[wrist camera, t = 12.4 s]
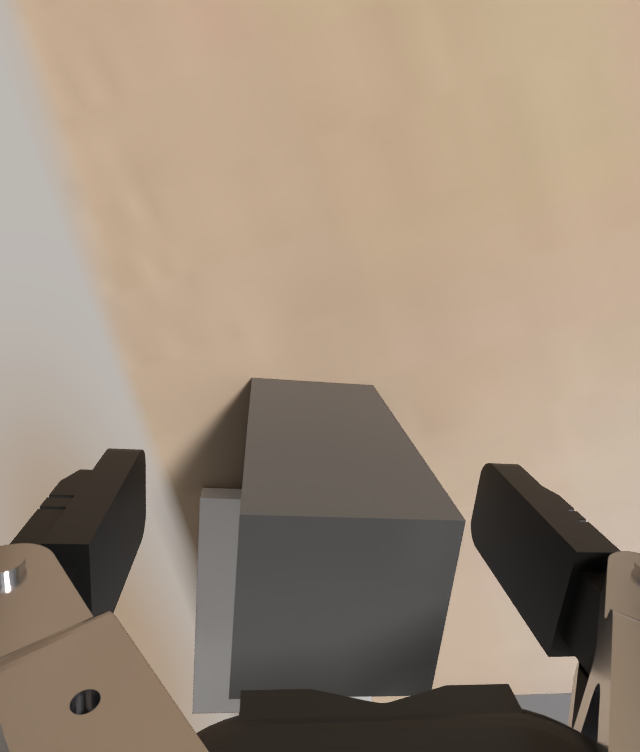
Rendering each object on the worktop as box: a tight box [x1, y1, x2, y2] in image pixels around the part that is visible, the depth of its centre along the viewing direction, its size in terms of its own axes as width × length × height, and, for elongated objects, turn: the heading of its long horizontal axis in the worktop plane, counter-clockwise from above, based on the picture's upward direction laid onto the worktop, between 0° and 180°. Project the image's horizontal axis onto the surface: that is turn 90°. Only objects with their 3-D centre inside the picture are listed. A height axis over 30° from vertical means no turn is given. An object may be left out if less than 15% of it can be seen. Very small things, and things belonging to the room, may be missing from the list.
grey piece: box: [193, 378, 465, 713], centre depth 12 cm, size 6×12×7 cm, turn 175°
